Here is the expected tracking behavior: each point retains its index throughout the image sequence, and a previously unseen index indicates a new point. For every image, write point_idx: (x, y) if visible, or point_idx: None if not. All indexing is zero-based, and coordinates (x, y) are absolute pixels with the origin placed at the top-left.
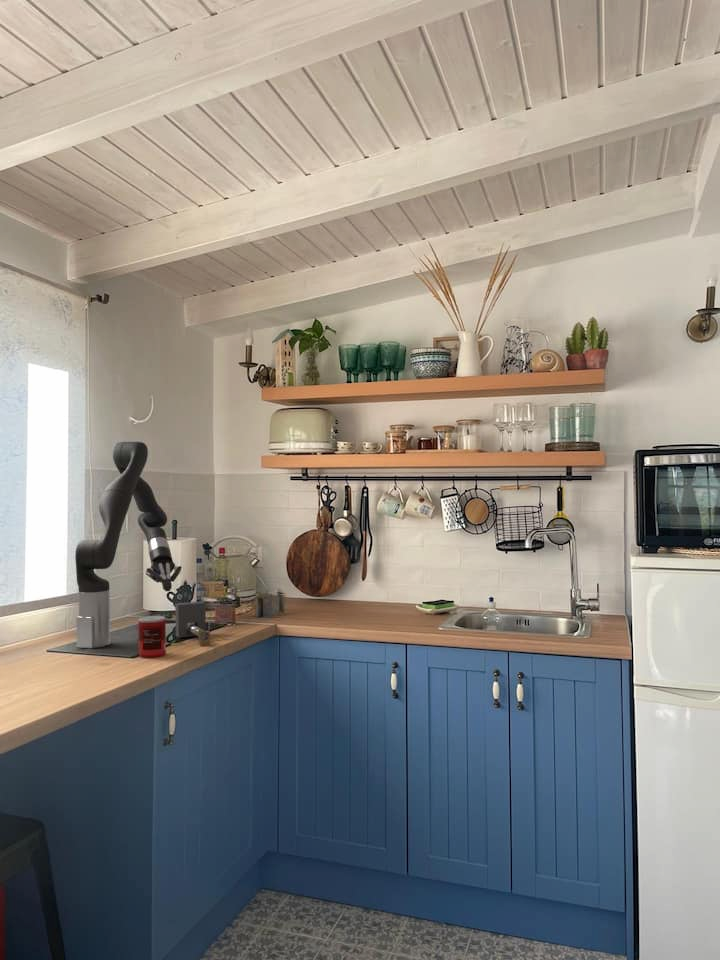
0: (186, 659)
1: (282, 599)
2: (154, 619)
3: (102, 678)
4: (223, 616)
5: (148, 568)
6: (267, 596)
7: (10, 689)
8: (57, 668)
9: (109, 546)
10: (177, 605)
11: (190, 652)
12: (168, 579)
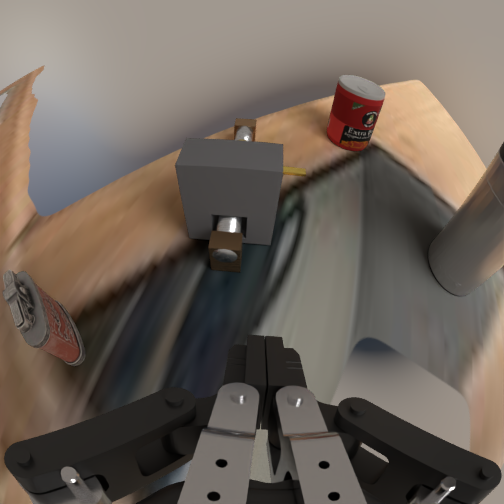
0: (301, 104)
1: None
2: (357, 83)
3: (395, 106)
4: (59, 315)
5: (490, 483)
6: None
7: (460, 130)
8: (454, 160)
9: None
10: (282, 152)
11: (285, 123)
12: (247, 383)
